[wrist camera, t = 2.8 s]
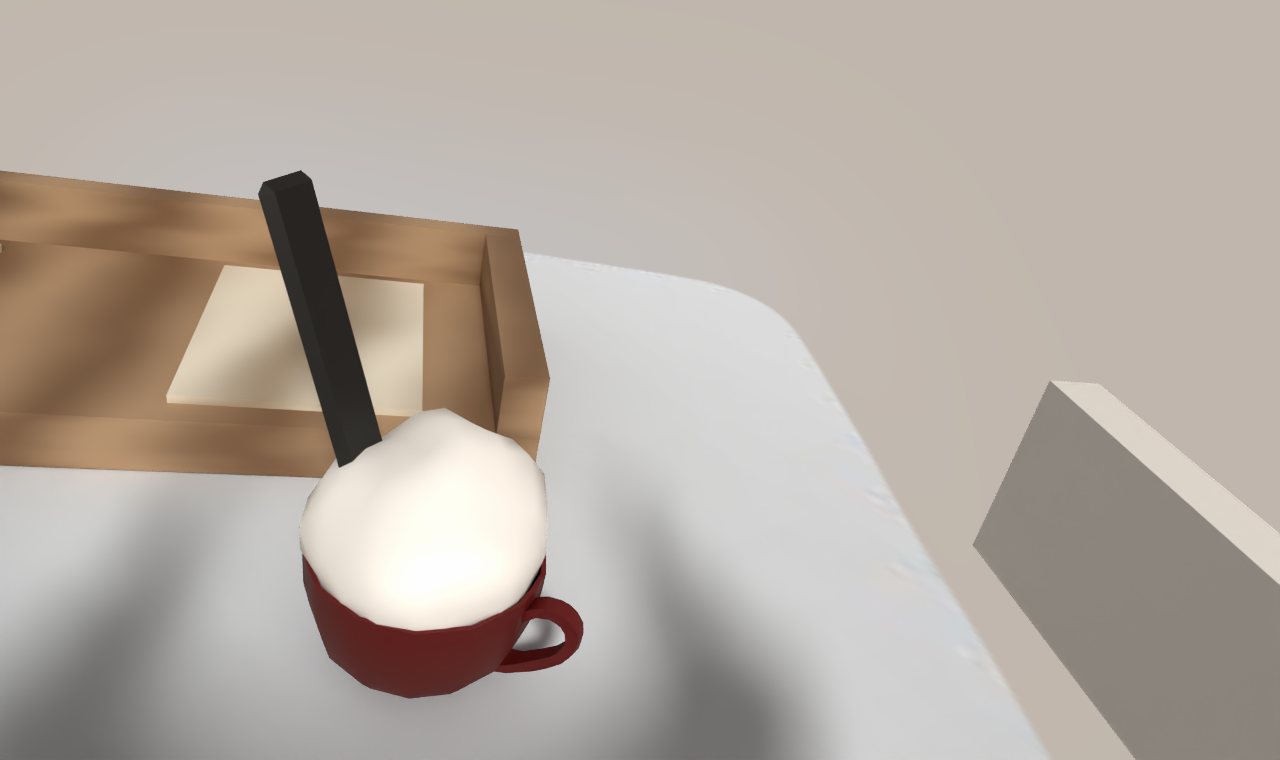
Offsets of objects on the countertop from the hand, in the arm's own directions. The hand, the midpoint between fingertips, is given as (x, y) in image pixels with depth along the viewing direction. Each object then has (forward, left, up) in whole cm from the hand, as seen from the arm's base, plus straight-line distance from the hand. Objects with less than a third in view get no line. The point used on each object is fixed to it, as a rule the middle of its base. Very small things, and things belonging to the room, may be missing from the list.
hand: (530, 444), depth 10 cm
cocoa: (0, +10, -14) cm, 18 cm away
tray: (-11, +24, -14) cm, 30 cm away
